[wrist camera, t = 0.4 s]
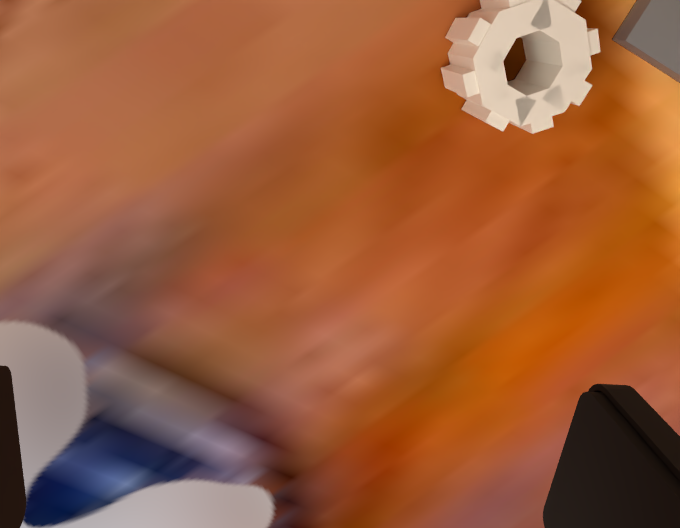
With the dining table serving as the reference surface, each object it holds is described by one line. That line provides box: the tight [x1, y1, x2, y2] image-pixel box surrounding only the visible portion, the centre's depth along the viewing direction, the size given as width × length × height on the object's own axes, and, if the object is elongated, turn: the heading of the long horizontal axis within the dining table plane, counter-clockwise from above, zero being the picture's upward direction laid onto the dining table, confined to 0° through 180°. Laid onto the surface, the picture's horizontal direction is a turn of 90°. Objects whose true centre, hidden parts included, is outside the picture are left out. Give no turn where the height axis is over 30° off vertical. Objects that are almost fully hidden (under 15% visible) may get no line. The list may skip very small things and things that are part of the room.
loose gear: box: [441, 0, 600, 134], centre depth 32 cm, size 7×7×5 cm
